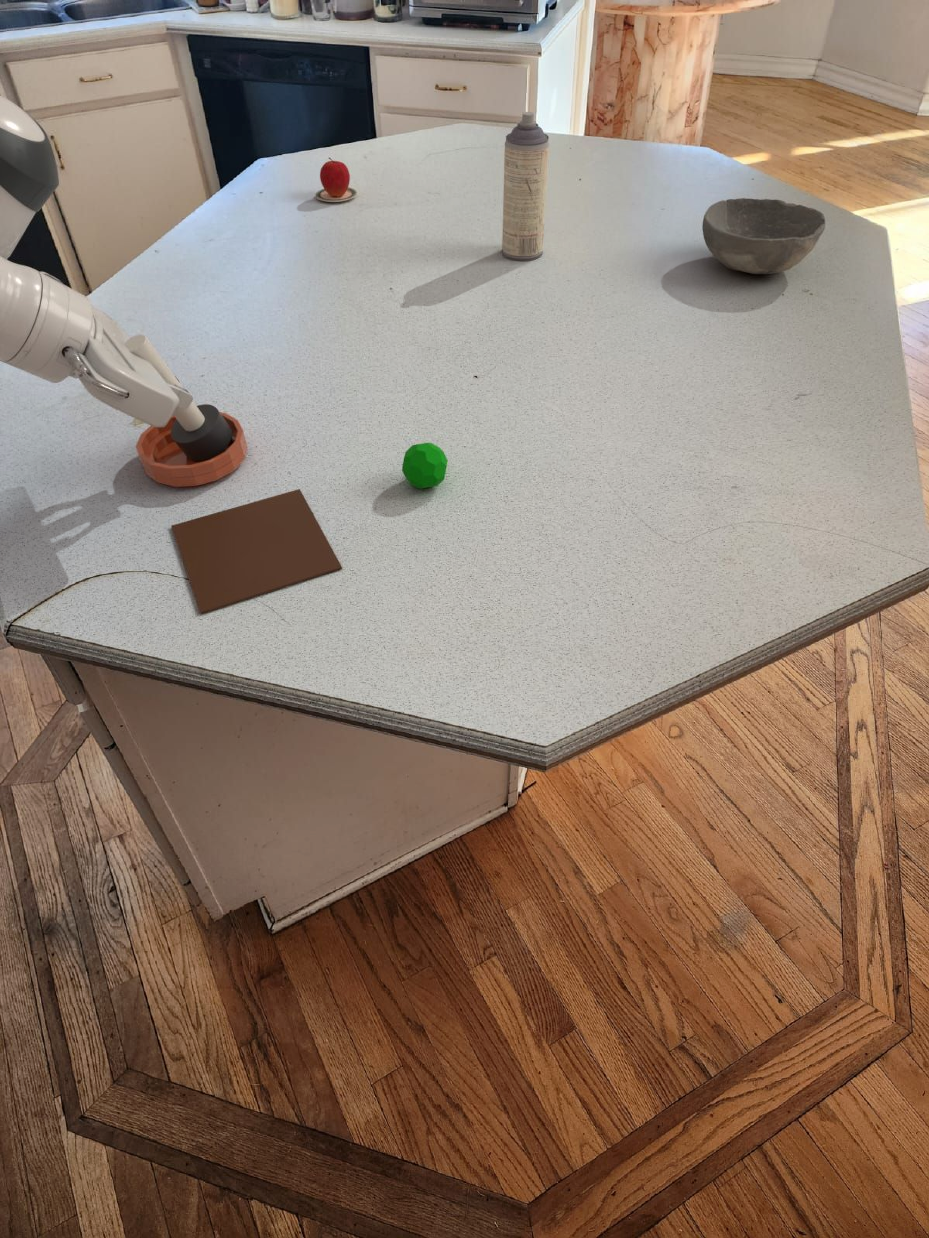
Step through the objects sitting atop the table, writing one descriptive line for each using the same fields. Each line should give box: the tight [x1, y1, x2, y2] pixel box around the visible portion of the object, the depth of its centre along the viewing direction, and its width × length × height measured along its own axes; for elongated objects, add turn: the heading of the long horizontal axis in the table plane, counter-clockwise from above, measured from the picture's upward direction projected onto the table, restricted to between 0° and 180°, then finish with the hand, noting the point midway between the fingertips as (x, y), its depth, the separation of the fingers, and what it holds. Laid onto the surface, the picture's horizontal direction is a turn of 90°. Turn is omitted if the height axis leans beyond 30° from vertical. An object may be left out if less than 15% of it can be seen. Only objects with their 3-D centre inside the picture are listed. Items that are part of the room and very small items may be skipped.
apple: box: [315, 157, 358, 203], centre depth 144 cm, size 8×8×6 cm
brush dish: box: [135, 411, 248, 488], centre depth 87 cm, size 12×12×3 cm
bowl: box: [701, 197, 826, 275], centre depth 119 cm, size 18×18×8 cm
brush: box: [124, 334, 232, 461], centre depth 81 cm, size 6×6×14 cm
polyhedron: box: [401, 442, 448, 490], centre depth 82 cm, size 5×5×5 cm
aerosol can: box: [501, 111, 550, 262], centre depth 120 cm, size 7×7×20 cm
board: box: [170, 488, 343, 615], centre depth 77 cm, size 14×14×1 cm
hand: (181, 393), depth 82 cm, fingers closed on brush, 2 cm apart
